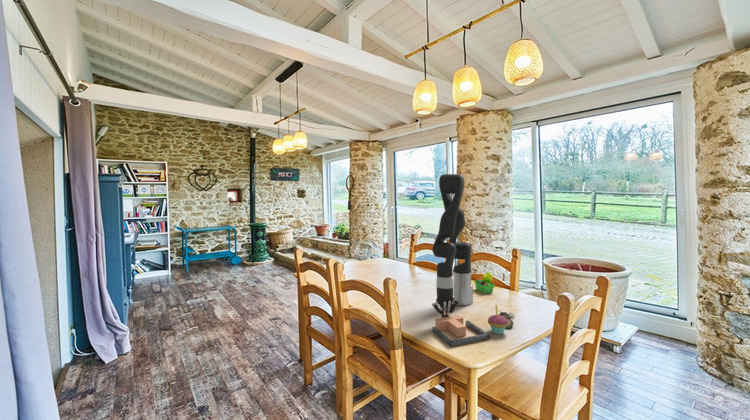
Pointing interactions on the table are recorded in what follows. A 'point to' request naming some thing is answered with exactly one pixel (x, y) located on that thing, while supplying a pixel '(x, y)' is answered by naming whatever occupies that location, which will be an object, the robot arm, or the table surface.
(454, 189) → the robot arm
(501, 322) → the cupcake
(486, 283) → the fruit basket
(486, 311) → the table surface
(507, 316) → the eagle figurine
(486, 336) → the rail bay
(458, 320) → the T-block
